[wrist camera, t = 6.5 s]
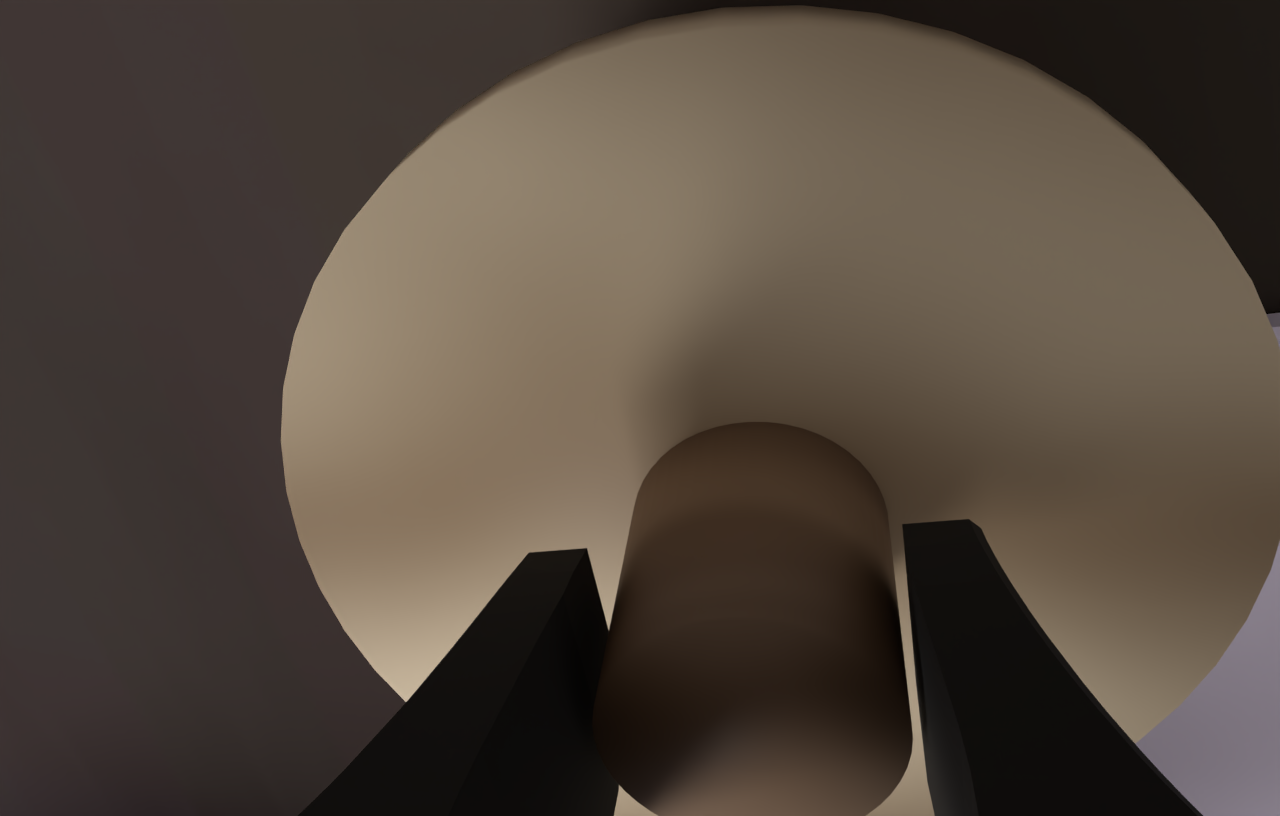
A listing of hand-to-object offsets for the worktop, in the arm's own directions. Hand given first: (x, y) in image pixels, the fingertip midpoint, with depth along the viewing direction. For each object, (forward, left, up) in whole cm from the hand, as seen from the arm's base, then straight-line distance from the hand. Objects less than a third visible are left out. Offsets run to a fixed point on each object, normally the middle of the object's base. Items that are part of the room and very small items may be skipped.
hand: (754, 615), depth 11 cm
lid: (0, 0, -3) cm, 3 cm away
